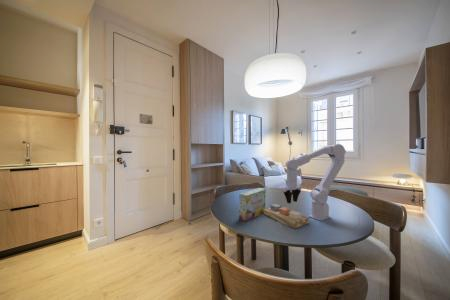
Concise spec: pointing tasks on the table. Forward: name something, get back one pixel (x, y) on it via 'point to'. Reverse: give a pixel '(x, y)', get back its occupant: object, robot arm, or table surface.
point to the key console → (286, 218)
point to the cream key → (295, 215)
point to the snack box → (251, 204)
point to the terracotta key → (284, 211)
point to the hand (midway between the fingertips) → (291, 202)
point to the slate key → (275, 207)
